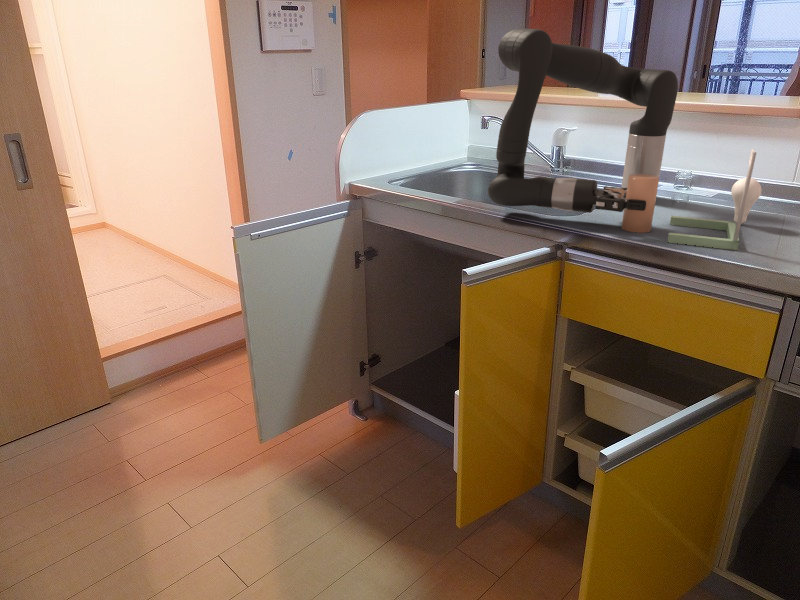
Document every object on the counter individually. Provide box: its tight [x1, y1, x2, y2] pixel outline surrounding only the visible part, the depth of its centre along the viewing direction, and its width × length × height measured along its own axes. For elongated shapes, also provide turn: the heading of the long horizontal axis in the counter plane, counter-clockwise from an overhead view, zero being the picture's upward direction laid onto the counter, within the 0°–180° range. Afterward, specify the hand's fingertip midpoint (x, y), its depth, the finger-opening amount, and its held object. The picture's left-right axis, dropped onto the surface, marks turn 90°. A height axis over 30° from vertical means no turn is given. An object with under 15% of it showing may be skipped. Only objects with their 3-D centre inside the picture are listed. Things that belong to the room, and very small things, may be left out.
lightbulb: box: [730, 177, 762, 225], centre depth 146 cm, size 6×6×11 cm
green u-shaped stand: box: [667, 148, 757, 251], centre depth 135 cm, size 17×14×20 cm
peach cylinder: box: [621, 174, 660, 234], centre depth 142 cm, size 6×6×12 cm
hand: (647, 201), depth 141 cm, fingers open, 8 cm apart
